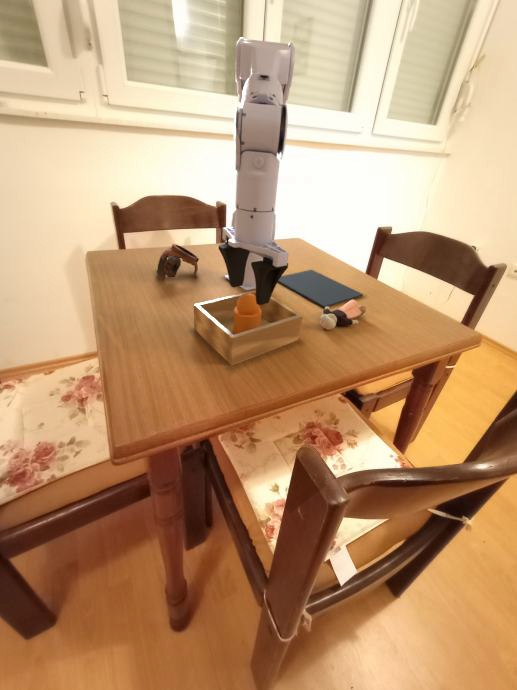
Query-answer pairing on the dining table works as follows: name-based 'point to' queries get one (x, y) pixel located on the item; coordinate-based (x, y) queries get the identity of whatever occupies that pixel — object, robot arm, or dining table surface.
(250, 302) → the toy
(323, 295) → the mat
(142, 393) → the dining table surface
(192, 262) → the brown piece
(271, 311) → the wooden box
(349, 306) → the grandmother figurine
